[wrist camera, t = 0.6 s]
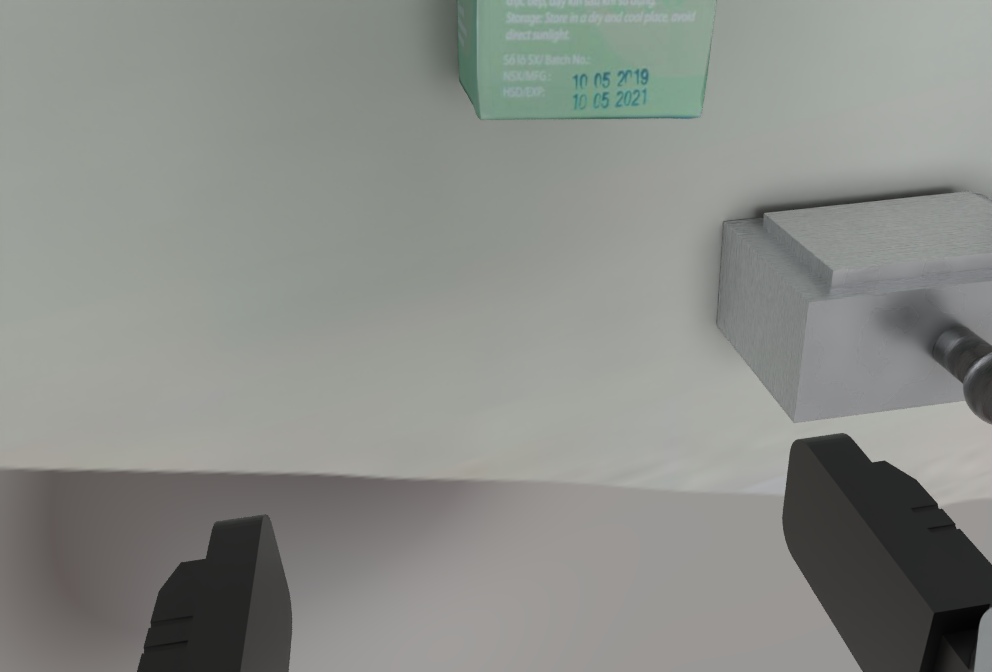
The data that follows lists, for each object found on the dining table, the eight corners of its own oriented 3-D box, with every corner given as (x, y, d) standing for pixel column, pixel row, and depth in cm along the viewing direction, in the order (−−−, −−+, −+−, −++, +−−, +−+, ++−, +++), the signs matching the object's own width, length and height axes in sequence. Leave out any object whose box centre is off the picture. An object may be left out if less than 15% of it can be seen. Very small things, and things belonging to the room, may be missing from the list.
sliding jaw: (724, 208, 37) (876, 346, 26) (982, 180, 38) (1231, 302, 27) (716, 325, 39) (850, 494, 29) (957, 296, 40) (1174, 449, 30)
